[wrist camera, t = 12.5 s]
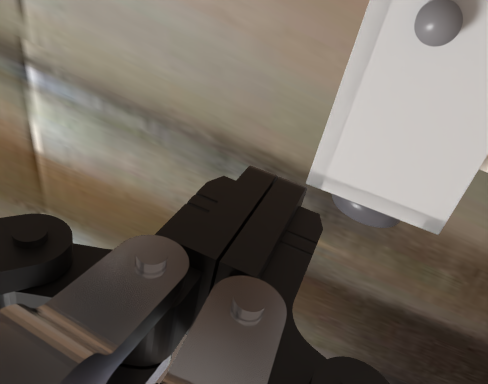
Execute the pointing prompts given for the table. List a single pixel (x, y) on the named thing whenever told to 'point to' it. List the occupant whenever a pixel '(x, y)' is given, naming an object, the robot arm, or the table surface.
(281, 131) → the table surface
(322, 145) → the camera housing
